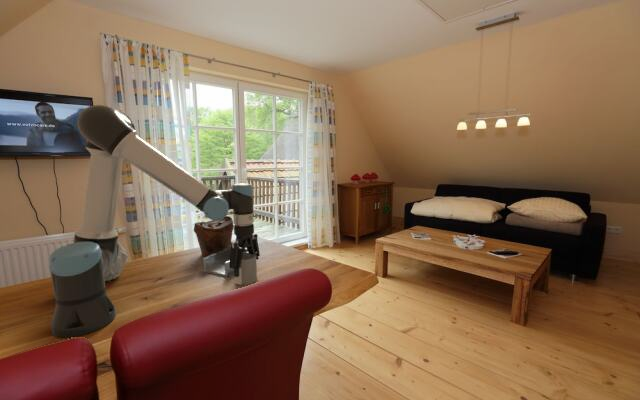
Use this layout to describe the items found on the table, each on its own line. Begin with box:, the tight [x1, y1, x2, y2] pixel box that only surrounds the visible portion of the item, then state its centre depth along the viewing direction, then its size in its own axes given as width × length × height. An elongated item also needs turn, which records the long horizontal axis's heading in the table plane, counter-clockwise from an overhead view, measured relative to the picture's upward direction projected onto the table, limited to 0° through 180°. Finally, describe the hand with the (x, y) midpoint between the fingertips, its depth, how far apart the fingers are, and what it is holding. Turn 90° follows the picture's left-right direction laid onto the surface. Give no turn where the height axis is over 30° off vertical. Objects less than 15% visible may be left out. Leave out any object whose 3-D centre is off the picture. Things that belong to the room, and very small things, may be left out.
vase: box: [104, 239, 130, 282], centre depth 119 cm, size 16×16×18 cm
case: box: [193, 215, 235, 258], centre depth 147 cm, size 18×20×18 cm
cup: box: [240, 252, 258, 286], centre depth 118 cm, size 8×8×10 cm
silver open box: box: [202, 246, 248, 278], centre depth 132 cm, size 18×12×6 cm
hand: (246, 279), depth 119 cm, fingers closed on cup, 8 cm apart
